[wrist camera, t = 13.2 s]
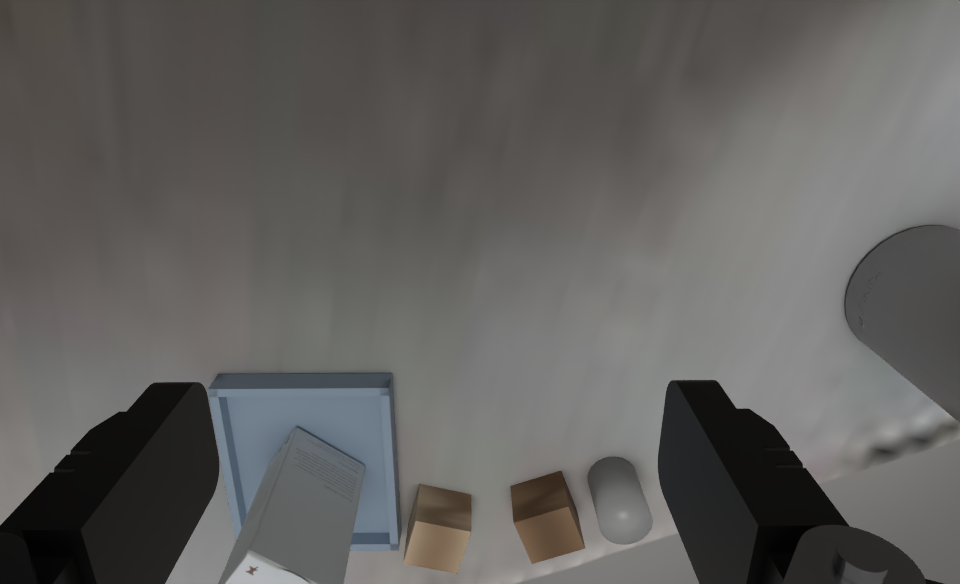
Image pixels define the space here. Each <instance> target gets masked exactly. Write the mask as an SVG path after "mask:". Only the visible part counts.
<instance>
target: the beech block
mask: <svg viewBox="0 0 960 584" xmlns="http://www.w3.org/2000/svg"><path fill="white" fill-rule="evenodd" d="M470 534H471V495H470V494H465V493H461V492H456V491H451V490H446V489H441V488H437V487H432V486H427V485H422V484H420V485H419V489H418V492H417V495H416V499H415V502H414V506H413V509H412V513H411V516H410V520H409V523H408V529H407V537H406V545H405V554H404V562H403V563H404V564H409V565H414V566H419V567H425V568H430V569H435V570H440V571H445V572H450V573H456V574H457V573H458V570H459V567H460V564H461V561H462V558H463V555H464V552H465V549H466V546H467V543H468V540H469V537H470Z"/></svg>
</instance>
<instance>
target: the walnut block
mask: <svg viewBox="0 0 960 584" xmlns="http://www.w3.org/2000/svg"><path fill="white" fill-rule="evenodd" d="M511 497H512V508H513V520H514V525H515V527H516V529H517V531H518V534H519V536H520V538H521V540H522V543H523V545H524V547H525V549H526V551H527V554H528V556H529V558H530V560H531V563H532V564H533V563H537V562H540V561H544V560H547V559H550V558H554V557H557V556H561V555H564V554H568V553H571V552H574V551H578V550H581V549H585V546H584V541H583V536H582V532H581V527H580V523H579V518H578V513H577V510H576V507H575V505H574V502H573V499H572V497H571V494H570V492H569V489H568V487H567V484H566V482H565V479H564V477H563V474H562V472H561V471H558V472H555V473H552V474H549V475H545V476H542V477H539V478H536V479H532V480H529V481H526V482H523V483H519V484H516V485H513V486H511Z"/></svg>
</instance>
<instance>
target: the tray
mask: <svg viewBox="0 0 960 584" xmlns="http://www.w3.org/2000/svg"><path fill="white" fill-rule="evenodd" d="M208 393H209V399H210V404H211V409H212V415H213V420H214V426H215V431H216V437H217V442H218V447H219V453H220V458H221V464H222V469H223V475H224V480H225V485H226V491H227V496H228V502H229V507H230V512H231V518H232V523H233V529H234V534H235V540H237V538H238V536H239V533H240V531H241V528H242V526H243V524H244V521H245V519H246V516H247V514H248V511H249V509H250V507H251V504H252V502H253V500H254V497H255V495H256V493H257V490H258V488H259V485H260V483H261V481H262V478H263V476H264V474H265V471H266V468H267V466H268V463H269V462H270V461H271V459H272V458H273V456H274V455H275V454H276V452H277V451H278V450H279V448H280V447H281V446H282V444H283V443H284V442H285V440H286V439H287V438H288V437H289V435H290V434H291V433H292V431H293V430H294V429H295V428H296V427H297V428H299V429H301V430H303V431H305V432H306V433H308V434H310V435H312V436H314V437H315V438H317V439H319V440H320V441H322V442H324V443H326V444H327V445H329V446H331V447H333V448H334V449H336V450H338V451H340V452H342V453H343V454H345V455H347V456H349V457H350V458H352V459H354V460H356V461H358V462H359V463H361V464H363V465H364V466H365V474H364V479H363V484H362V488H361V494H360V499H359V504H358V510H357V515H356V520H355V525H354V531H353V536H352V541H351V546H350V551H378V550H399V544H400V537H401V517H400V500H399V484H398V467H397V450H396V433H395V416H394V399H393V382H392V373H338V374H218V376H217V377H216V378H215V380H214V381H213V383H212V384H211V385H210V387H209V388H208Z"/></svg>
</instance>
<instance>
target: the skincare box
mask: <svg viewBox="0 0 960 584" xmlns="http://www.w3.org/2000/svg"><path fill="white" fill-rule="evenodd" d="M364 474H365V466H364V465H363V464H361V463H359V462H358V461H356V460H354V459H352V458H350V457H349V456H347V455H345V454H343V453H342V452H340V451H338V450H336V449H334V448H333V447H331V446H329V445H327V444H326V443H324V442H322V441H320V440H319V439H317V438H315V437H314V436H312V435H310V434H308V433H306V432H305V431H303V430H301V429H299V428H297V427H296V428H295V429H294V430H293V431H292V433H291V434H290V435H289V437H288V438H287V439H286V440H285V442H284V443H283V444H282V446H281V447H280V448H279V450H278V451H277V452H276V454H275V455H274V456H273V458H272V459H271V461H270V462H269V463H268V466H267V468H266V471H265V474H264V476H263V478H262V481H261V483H260V485H259V488H258V490H257V493H256V495H255V497H254V500H253V502H252V504H251V507H250V509H249V511H248V514H247V516H246V519H245V521H244V524H243V526H242V528H241V531H240V533H239V536H238V538H237V540H236V543H235V545H234V547H233V550H232V552H231V555H230V557H229V560H228V562H227V565H226V568H225V570H224V572H223V574H222V576H221V579H220V581H219V583H218V584H344V578H345V573H346V567H347V562H348V557H349V551H350V546H351V541H352V536H353V531H354V525H355V520H356V515H357V510H358V504H359V499H360V494H361V488H362V484H363V479H364Z"/></svg>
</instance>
